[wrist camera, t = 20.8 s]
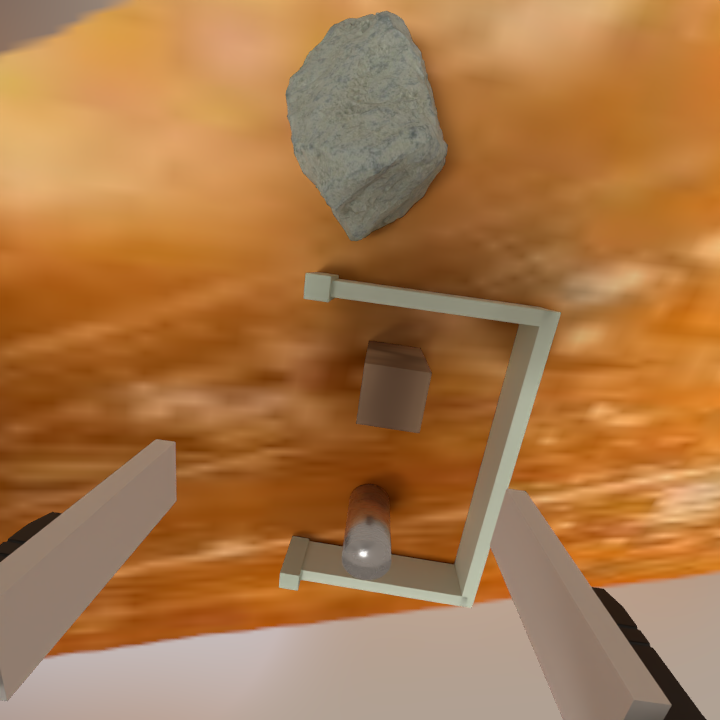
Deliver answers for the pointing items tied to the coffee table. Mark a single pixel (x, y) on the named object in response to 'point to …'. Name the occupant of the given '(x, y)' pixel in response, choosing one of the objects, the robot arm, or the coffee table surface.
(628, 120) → the coffee table surface
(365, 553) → the metal cylinder
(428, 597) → the bay
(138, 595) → the coffee table surface
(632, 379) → the coffee table surface
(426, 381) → the walnut block
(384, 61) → the decorative stone
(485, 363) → the coffee table surface
